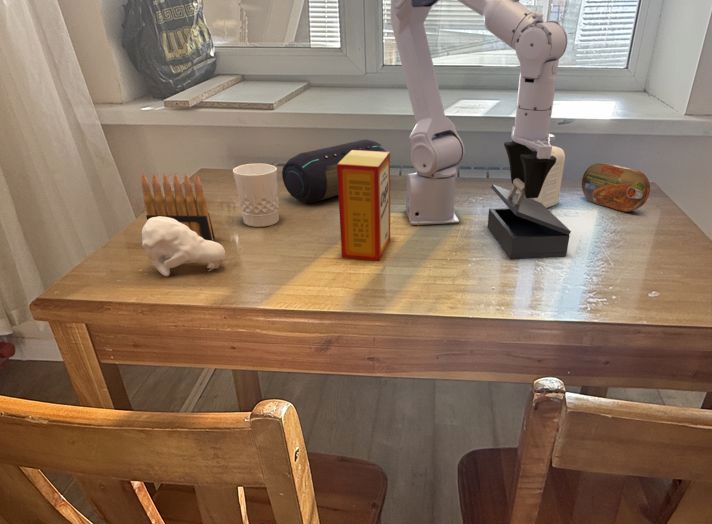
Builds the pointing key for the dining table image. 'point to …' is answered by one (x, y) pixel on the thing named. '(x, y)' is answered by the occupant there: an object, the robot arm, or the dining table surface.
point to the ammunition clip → (179, 204)
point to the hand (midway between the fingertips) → (524, 190)
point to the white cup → (257, 193)
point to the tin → (615, 186)
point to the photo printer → (552, 180)
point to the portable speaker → (319, 170)
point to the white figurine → (177, 245)
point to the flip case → (525, 236)
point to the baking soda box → (364, 204)
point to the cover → (528, 207)
